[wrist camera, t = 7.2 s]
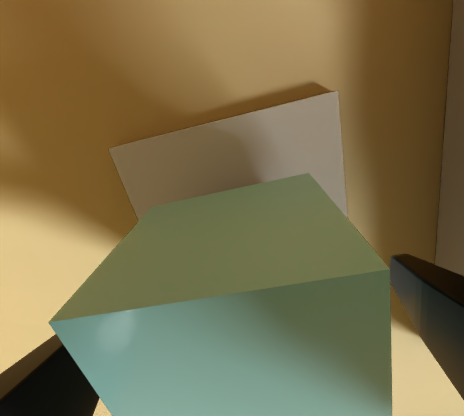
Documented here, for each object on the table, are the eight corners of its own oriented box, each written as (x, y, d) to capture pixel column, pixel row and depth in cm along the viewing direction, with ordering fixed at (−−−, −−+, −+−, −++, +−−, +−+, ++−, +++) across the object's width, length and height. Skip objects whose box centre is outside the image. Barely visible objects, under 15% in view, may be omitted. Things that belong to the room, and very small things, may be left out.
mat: (350, 297, 13) (354, 305, 13) (186, 320, 15) (183, 329, 14) (332, 91, 10) (337, 90, 9) (115, 146, 11) (108, 148, 10)
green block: (315, 274, 12) (393, 472, 6) (203, 292, 13) (159, 484, 6) (298, 160, 10) (390, 269, 4) (166, 190, 11) (48, 322, 4)
